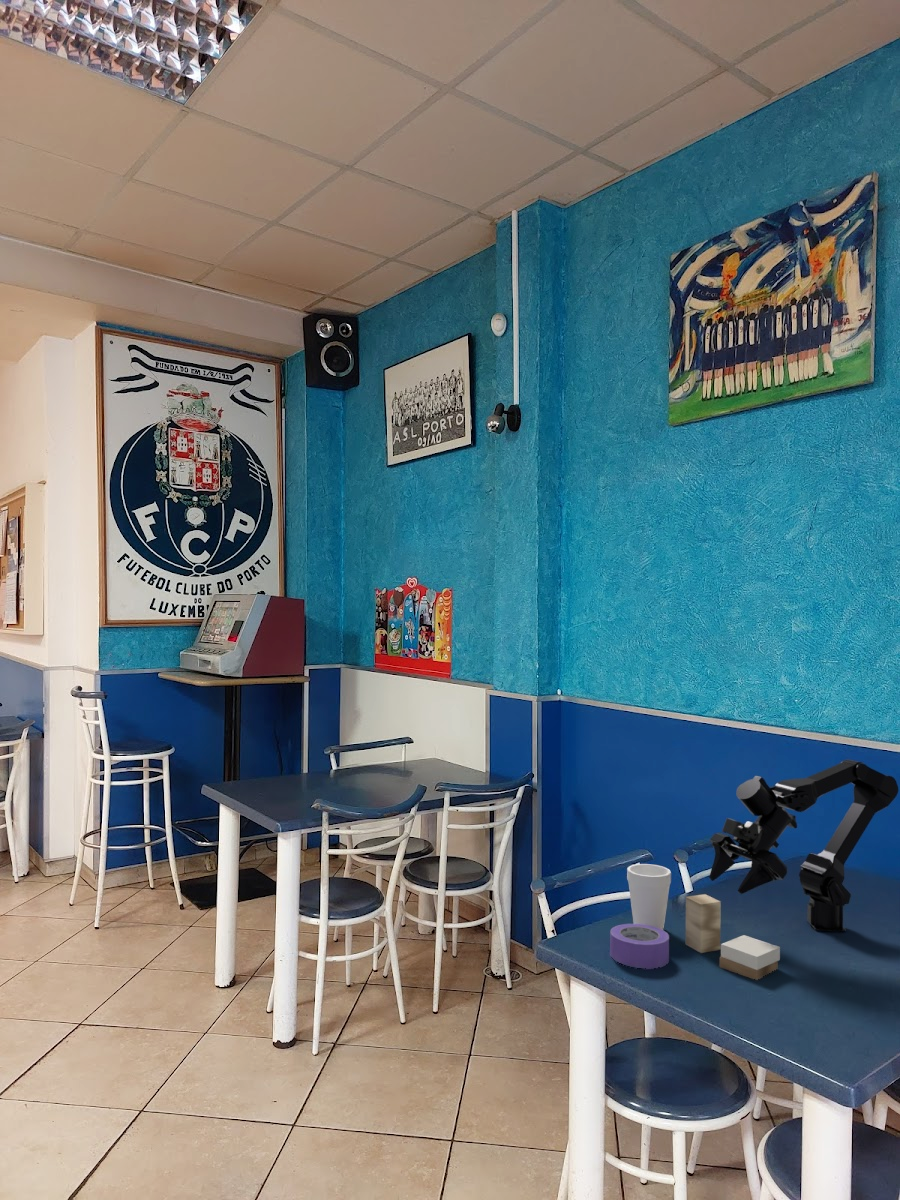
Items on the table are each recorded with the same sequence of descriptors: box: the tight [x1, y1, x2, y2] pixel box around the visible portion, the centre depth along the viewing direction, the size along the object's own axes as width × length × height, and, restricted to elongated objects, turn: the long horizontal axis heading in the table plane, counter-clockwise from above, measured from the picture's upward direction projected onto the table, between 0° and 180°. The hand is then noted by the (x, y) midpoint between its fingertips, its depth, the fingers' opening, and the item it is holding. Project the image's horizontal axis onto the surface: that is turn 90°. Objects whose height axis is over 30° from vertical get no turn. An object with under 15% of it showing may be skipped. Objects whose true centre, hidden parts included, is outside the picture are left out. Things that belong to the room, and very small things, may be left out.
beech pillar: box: [685, 893, 722, 954], centre depth 181 cm, size 5×5×10 cm
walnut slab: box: [718, 956, 779, 981], centre depth 171 cm, size 8×8×2 cm
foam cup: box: [626, 863, 672, 930], centre depth 191 cm, size 10×9×13 cm
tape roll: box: [609, 923, 670, 970], centre depth 176 cm, size 12×12×5 cm
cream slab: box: [720, 934, 781, 970], centre depth 171 cm, size 8×8×2 cm
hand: (724, 885), depth 183 cm, fingers open, 9 cm apart
